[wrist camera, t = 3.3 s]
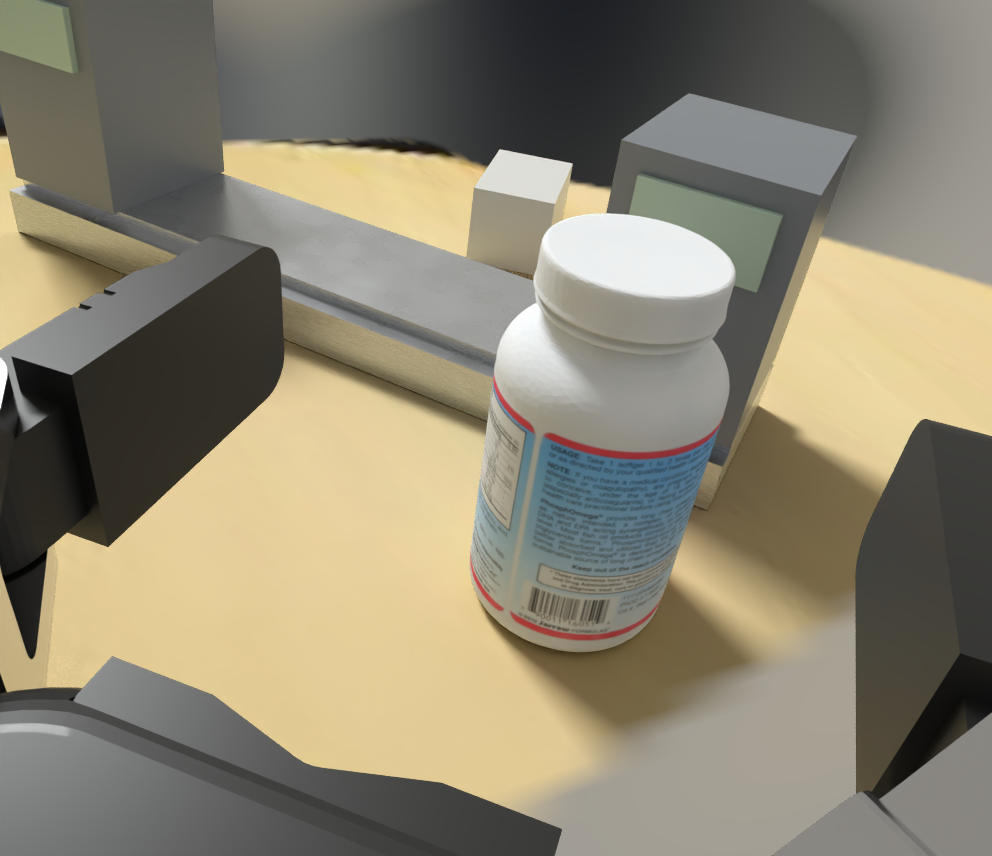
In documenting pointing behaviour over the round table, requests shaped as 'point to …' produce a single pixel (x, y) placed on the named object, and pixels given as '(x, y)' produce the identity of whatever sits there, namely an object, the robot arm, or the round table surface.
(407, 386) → the rail
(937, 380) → the round table surface
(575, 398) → the pill bottle
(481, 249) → the box
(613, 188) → the modules
